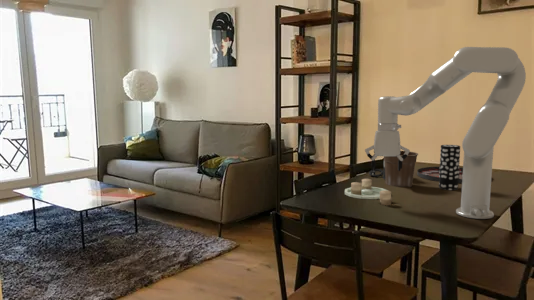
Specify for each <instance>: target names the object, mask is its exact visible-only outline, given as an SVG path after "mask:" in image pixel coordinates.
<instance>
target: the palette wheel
mask: <svg viewBox="0 0 534 300" xmlns="http://www.w3.org/2000/svg"><path fill="white" fill-rule="evenodd" d="M439 174H440V166H427V167H421V168H418V169H417V171H416V175H417V176H418V177H420V178H422V179H425V180H430V181H436V182H439ZM462 175H463V167H460V166H459V181H458V184H462Z"/></svg>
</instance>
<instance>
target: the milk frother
mask: <svg viewBox="0 0 534 300" xmlns="http://www.w3.org/2000/svg"><path fill="white" fill-rule="evenodd" d="M376 172H380V173H379V174H376ZM368 174H369V176H371V177H374V178H375V177H376V178H377V177H382V179H383V180H386V178H385V161H384V160H383V169H381V168H375V171H374V170H373V169H371V170H370V171H369V173H368Z"/></svg>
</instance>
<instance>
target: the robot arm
mask: <svg viewBox="0 0 534 300" xmlns="http://www.w3.org/2000/svg"><path fill="white" fill-rule="evenodd" d="M473 73H477V74H478V73H481V74H483V73H484V74H497V75H496V76H497V81H496V82H495V84H494V86H493V88H492V90H491V92H490V94H489V96H488V98H487V99H486V101H485V103H484V104H483V105H482V106H481V107H480V109H478V112H477V113H476V115H475V117H474V119H473V121H472V123H471V125H470V127H469V128H468V130H467V132H466V134H465V135H464V137H463V139H462V145H461V146H462V150H463V161H462V162H463V164H462V168H463V175H462V183H461V195H460V207H458V208H456V209H455V213H456V214H457V215H459V216H461V217H464V218H468V219H475V220H486V219H487V220H488V219H493V218H494V216H495V214H494V211H492V210H490V205H491V204H490V203H491V190H492V186H491V185H492V173H493V157H494V149H495V146H496V144H497V142H498V140H499V139H500V136H501V135H502V133H503V131H504V130H505V128H506V126H507V124H508V122H509V120H510V115H511V112H512V111H513V109H514V107H515V105H516V103H517V102H518V99H519V98H520V95H521V93H522V91H523V89H524V87H525V83H526V79H527V76H526V68H525V66H524V64H523V62H522V60H521V59H520V58H519V55H518V53H517V52H516V51H515V50H514V49H512V48H510V47H502V46H501V47H500V46H499V47H496V46H493V47H491V46H483V47H481V46H480V47H479V46H464V47H461V48H459V49H458V50H457V51H455V52H454V55H453V57H451V58H450V59H448V60H447V61H446V62H445V63H444V64H442V65H441V66H439V67H438V68H437V69H435V70H434V71H433V72H432V73H431V74H429V76H428V77H427V79H426V81H424V83H423V84H422V85H420V86H419V87H418V88H417V89H415V90H414V91H412V92H411V93H410V94H408V95H403V96H395V95H394V96H380V97H379V98H378V102H377V130H375V131H374V132H375V134H374V139H373V140H374V141H373V145H371V146H369V147H367V148H365V149H364V152H365V154H366V155H367V157H368V158H369V159H370V161H371V169H372V170H374V171H375V169H377V168H376V163H377V161H376V159H377V157H384V156H397V157H398V158H399V160H398V171H400V169H402V161H403V160H404V159H405V158H406V157H407V155H408V154H409V152H411V151H410V149H409V148H407V147H405V146H403V145H402V144H401V134H400V131H399V129H401V128H402V124H399V123H398V116H411V115H414V114H416V113H419V112H420V111H421V110H422V109H424V108H425V107H426V106H428V105H429V104H430V103H432V102H434V100H436V99H437V98H439V97H440V96H441V95H443V94H445V93H446V92H447V91H448V90H450V89H451V88H453V87H454V86H455V85H457V84H458V83H459V82H461V81H462V80H464V79H465V78H466V77H468V76H469V75H471V74H473ZM372 150H373V153H374V154H373V155H372V154H371V153H370V152H371V151H372ZM400 151H405V153H404V155H403V156H400ZM375 172H376V171H375Z"/></svg>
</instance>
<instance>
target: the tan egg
mask: <svg viewBox="0 0 534 300" xmlns="http://www.w3.org/2000/svg"><path fill="white" fill-rule="evenodd" d="M350 187H351V194H355V195H361V190H362V182H357V181H355V182H351V183H350Z"/></svg>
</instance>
